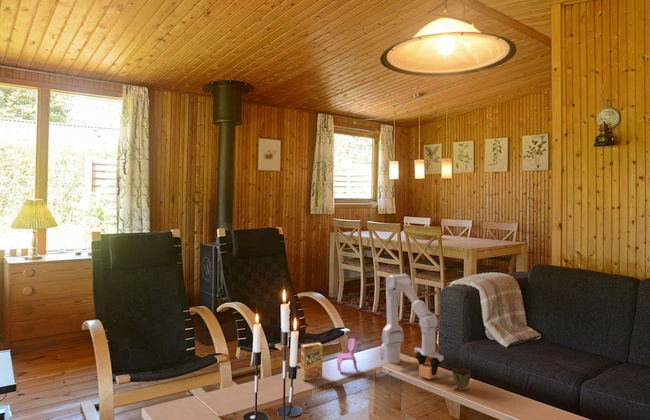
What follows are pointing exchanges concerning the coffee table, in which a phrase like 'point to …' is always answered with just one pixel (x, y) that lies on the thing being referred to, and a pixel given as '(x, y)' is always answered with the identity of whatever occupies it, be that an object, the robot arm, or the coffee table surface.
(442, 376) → the board
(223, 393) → the coffee table surface
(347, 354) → the toy chair
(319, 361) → the candy box
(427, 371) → the collar
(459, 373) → the cup
